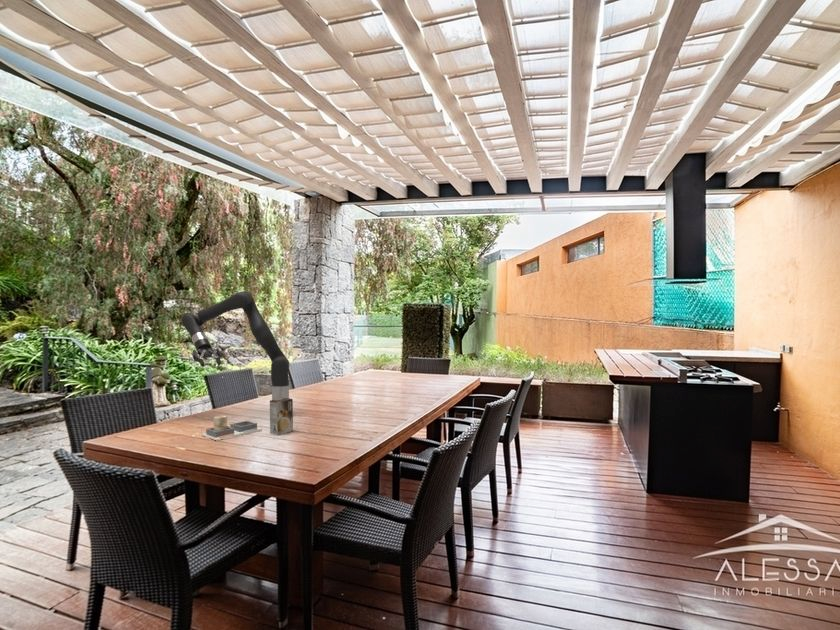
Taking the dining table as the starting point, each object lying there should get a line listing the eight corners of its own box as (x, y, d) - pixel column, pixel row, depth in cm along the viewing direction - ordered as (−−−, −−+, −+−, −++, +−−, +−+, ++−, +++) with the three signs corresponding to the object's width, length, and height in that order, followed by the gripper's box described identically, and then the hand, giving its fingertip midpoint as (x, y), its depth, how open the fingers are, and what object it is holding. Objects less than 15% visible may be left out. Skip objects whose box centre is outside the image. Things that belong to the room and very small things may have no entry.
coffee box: (285, 429, 226) (285, 397, 226) (293, 431, 222) (293, 398, 222) (269, 433, 218) (269, 400, 218) (277, 435, 215) (277, 401, 214)
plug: (222, 432, 217) (222, 415, 217) (227, 433, 214) (227, 416, 214) (213, 434, 213) (213, 417, 213) (218, 435, 211) (218, 418, 210)
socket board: (246, 426, 232) (246, 419, 232) (261, 430, 223) (261, 423, 223) (201, 436, 214) (201, 428, 214) (216, 441, 205) (216, 433, 205)
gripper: (190, 338, 238) (200, 361, 231) (216, 337, 249) (227, 359, 242) (185, 347, 241) (195, 371, 234) (211, 346, 253) (222, 368, 246)
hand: (211, 365), depth 238 cm, fingers open, 8 cm apart
